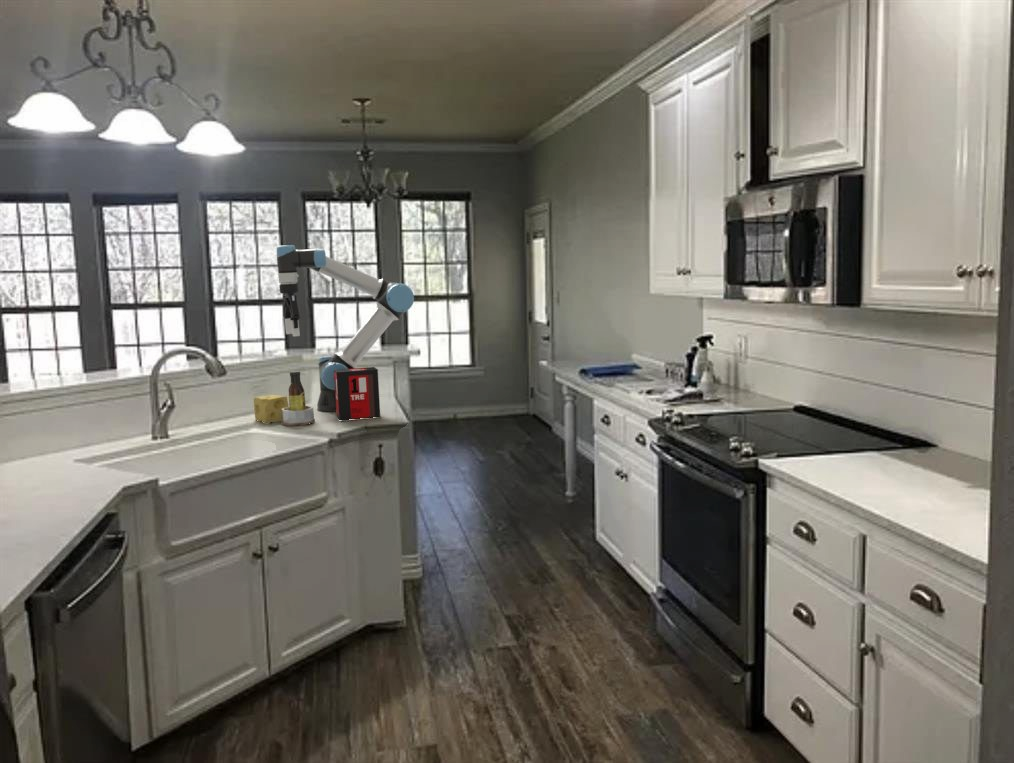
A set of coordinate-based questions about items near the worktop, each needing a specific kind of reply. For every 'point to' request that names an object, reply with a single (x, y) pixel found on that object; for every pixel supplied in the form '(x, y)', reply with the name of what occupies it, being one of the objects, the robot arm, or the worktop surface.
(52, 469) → the worktop surface
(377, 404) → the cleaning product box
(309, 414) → the collar
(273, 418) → the cheese
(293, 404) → the sauce bottle
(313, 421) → the duct base
